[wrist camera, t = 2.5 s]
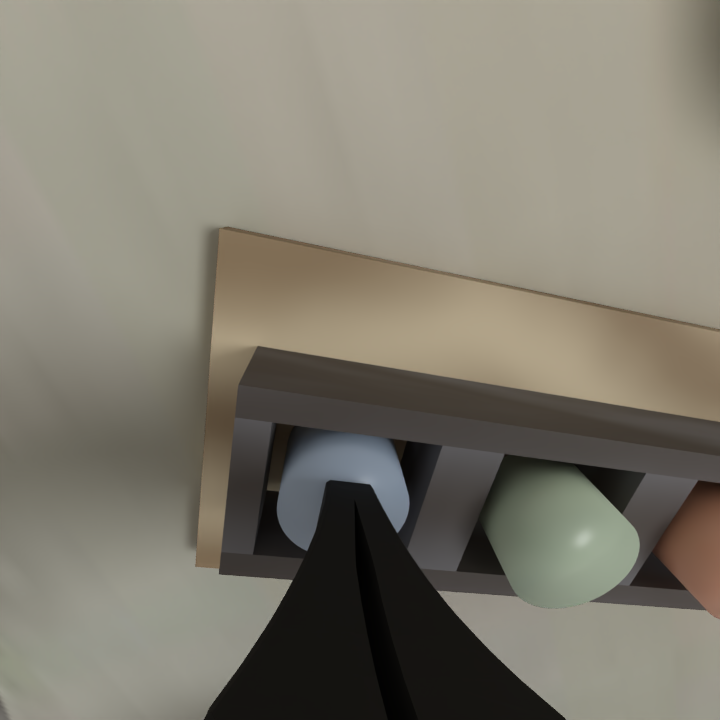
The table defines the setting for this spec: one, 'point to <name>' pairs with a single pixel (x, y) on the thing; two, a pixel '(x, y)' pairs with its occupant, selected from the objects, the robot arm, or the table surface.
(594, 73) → the table surface
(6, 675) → the table surface
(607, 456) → the button panel
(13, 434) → the table surface
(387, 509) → the slate button
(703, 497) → the terracotta button
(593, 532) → the sage button
